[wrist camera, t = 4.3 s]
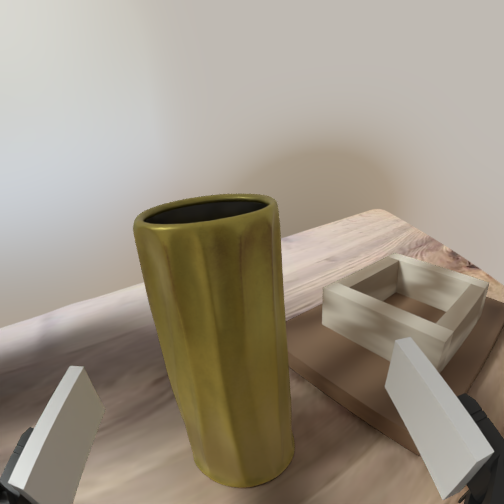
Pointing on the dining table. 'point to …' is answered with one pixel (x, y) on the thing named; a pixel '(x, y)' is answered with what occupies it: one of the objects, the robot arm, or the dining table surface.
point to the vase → (222, 329)
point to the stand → (393, 334)
